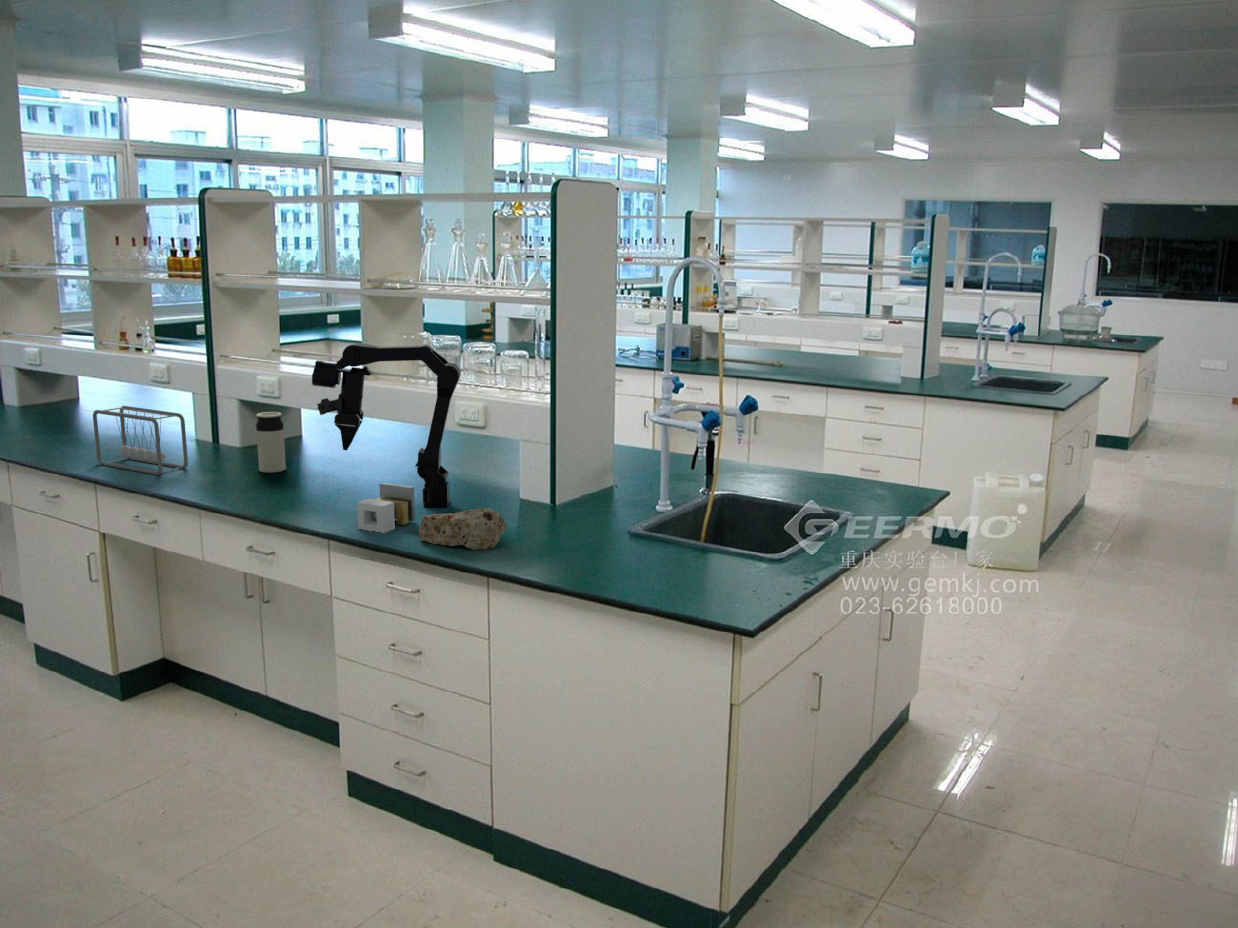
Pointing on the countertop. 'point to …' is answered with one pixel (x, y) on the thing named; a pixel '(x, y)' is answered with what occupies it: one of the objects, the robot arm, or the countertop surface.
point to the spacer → (399, 510)
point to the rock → (464, 528)
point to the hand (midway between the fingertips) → (346, 447)
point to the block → (383, 515)
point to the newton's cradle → (142, 453)
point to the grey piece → (398, 498)
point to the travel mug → (270, 442)
